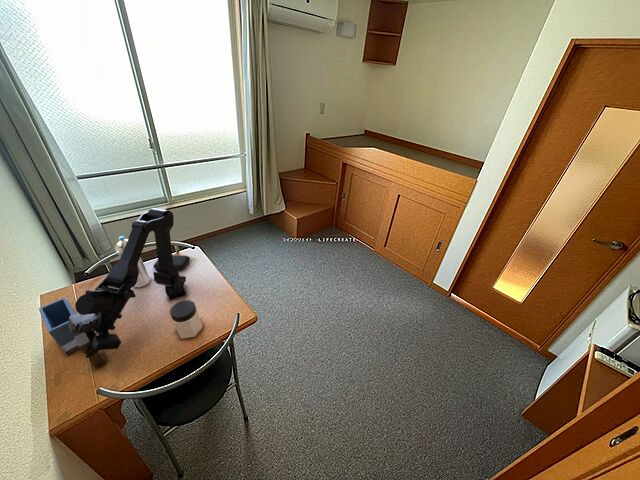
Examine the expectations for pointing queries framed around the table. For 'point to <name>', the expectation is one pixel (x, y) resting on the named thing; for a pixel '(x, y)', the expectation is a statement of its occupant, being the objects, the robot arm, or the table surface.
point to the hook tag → (84, 349)
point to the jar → (186, 318)
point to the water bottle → (143, 275)
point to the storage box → (59, 321)
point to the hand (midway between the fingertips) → (84, 352)
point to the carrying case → (176, 262)
